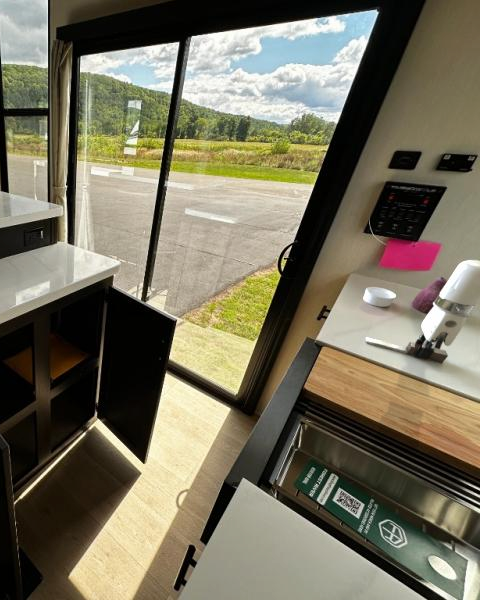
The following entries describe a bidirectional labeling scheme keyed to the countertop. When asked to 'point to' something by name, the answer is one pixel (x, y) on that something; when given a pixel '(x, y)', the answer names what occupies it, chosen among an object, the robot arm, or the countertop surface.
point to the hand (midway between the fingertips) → (419, 353)
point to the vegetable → (428, 295)
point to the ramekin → (379, 296)
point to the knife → (409, 349)
